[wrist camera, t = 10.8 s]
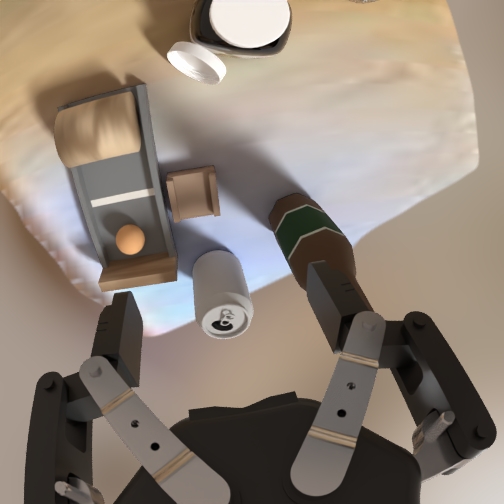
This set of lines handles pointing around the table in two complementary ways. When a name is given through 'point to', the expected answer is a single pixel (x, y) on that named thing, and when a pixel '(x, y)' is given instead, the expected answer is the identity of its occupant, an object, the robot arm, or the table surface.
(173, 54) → the spread jar
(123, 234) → the ball
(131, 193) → the lane
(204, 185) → the tee
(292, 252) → the beer bottle
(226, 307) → the can
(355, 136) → the table surface
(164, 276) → the backstop
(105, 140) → the log
